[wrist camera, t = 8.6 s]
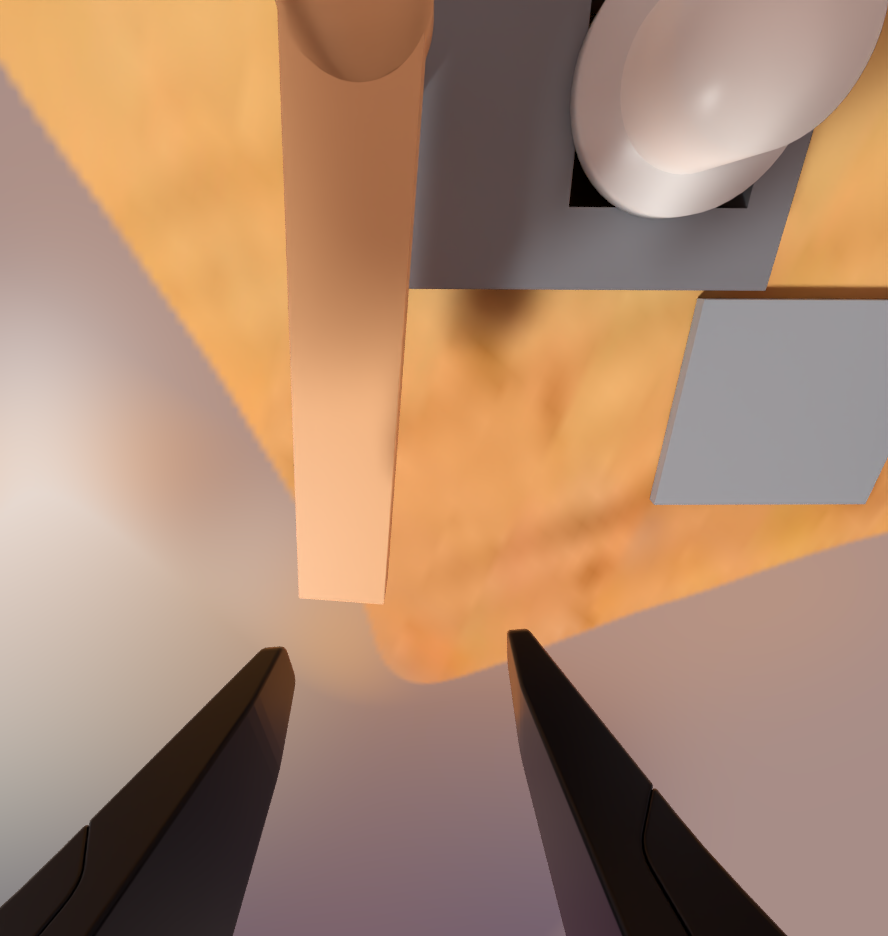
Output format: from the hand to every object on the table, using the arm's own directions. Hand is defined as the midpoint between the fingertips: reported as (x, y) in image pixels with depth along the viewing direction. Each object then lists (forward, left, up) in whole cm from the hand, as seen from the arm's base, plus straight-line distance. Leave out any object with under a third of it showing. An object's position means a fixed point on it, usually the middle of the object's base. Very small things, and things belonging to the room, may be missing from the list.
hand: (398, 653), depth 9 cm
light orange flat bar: (+1, -5, -5) cm, 7 cm away
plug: (-7, -11, -12) cm, 18 cm away
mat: (-16, -1, -12) cm, 20 cm away
